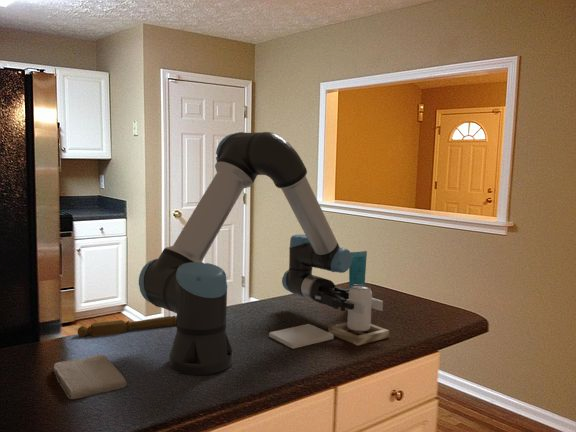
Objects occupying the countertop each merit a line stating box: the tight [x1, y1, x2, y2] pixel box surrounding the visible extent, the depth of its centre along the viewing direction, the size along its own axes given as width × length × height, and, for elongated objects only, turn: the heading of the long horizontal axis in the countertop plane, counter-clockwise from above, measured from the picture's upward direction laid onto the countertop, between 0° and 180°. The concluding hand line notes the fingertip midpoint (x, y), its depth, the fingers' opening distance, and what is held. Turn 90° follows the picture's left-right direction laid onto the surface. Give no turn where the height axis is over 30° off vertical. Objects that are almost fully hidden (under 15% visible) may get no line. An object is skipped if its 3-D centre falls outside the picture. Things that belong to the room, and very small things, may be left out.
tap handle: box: [77, 315, 177, 338], centre depth 147 cm, size 3×3×30 cm
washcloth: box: [53, 353, 128, 400], centre depth 114 cm, size 12×18×3 cm, turn 36°
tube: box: [348, 250, 368, 288], centre depth 172 cm, size 7×5×19 cm, turn 127°
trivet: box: [268, 323, 335, 349], centre depth 144 cm, size 14×11×1 cm
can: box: [346, 284, 373, 333], centre depth 146 cm, size 6×6×12 cm
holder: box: [327, 321, 390, 347], centre depth 147 cm, size 12×12×2 cm
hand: (372, 307), depth 142 cm, fingers closed on can, 6 cm apart
